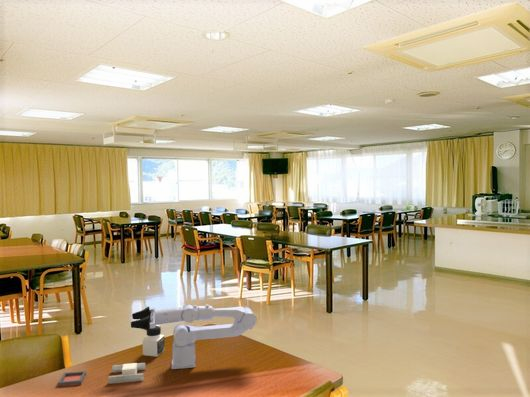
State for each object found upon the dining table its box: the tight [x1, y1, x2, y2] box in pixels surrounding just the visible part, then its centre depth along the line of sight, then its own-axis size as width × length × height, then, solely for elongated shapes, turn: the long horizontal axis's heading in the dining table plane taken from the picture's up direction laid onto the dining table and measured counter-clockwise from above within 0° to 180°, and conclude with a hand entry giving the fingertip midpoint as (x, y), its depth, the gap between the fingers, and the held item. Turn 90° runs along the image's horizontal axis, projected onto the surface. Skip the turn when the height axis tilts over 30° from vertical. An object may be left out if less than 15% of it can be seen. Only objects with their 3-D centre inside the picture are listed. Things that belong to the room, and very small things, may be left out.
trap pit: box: [57, 370, 87, 387], centre depth 157 cm, size 8×8×1 cm
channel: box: [108, 362, 146, 385], centre depth 161 cm, size 12×10×2 cm
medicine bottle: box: [142, 324, 166, 358], centre depth 182 cm, size 7×7×12 cm
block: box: [121, 362, 138, 375], centre depth 161 cm, size 5×5×4 cm
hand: (131, 320), depth 165 cm, fingers open, 7 cm apart
